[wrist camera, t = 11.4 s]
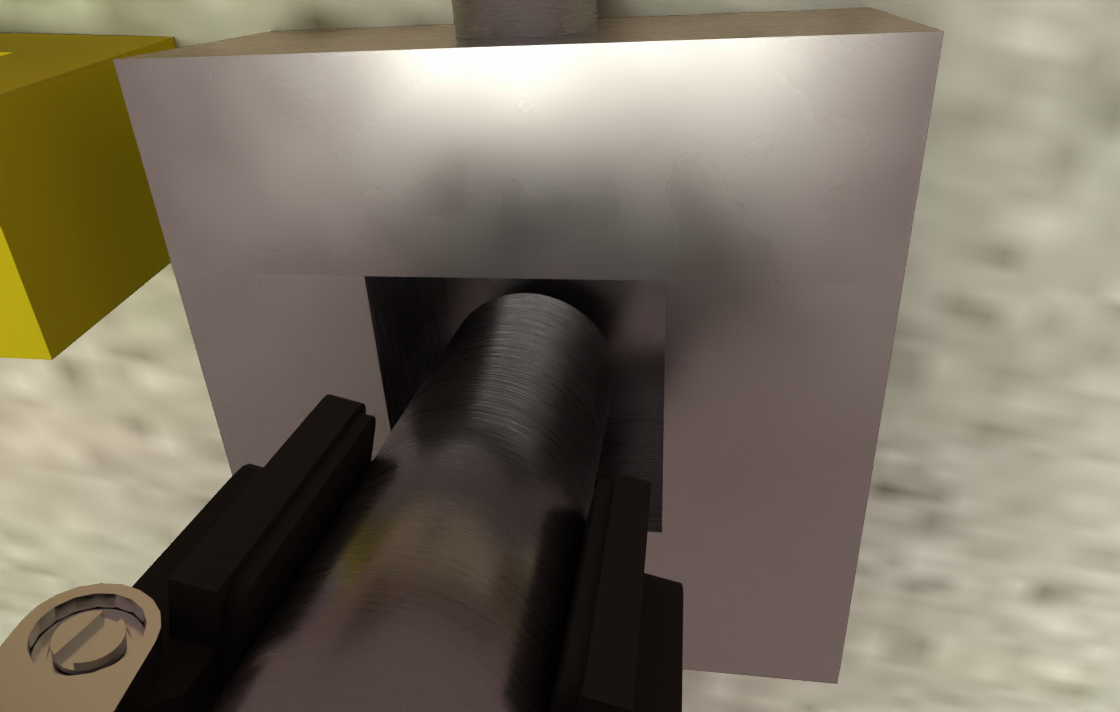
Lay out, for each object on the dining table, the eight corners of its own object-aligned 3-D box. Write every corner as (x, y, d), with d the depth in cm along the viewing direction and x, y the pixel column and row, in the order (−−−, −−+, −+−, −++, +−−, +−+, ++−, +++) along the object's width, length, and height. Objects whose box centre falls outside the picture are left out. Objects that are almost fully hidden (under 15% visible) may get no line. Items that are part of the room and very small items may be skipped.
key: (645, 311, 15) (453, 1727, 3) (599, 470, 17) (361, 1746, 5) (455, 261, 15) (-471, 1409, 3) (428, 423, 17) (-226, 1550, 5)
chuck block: (807, 522, 20) (837, 683, 15) (362, 494, 22) (276, 630, 17) (934, -521, 11) (1083, -824, 7) (182, -415, 13) (-76, -596, 9)
